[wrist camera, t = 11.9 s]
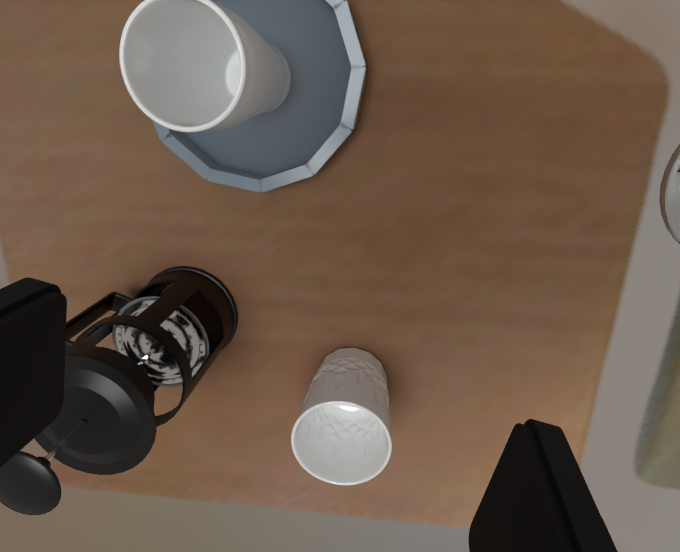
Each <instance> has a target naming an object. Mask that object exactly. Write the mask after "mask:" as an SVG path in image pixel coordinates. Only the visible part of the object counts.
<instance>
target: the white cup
mask: <svg viewBox="0 0 680 552" xmlns="http://www.w3.org/2000/svg"><path fill="white" fill-rule="evenodd" d="M291 444H292V449H293V452H294V455H295V457H296V459H297V460H298V462H299V463H300V465H301V466H302V467H303V468H304V469H305V470H306V471H307V472H309V473H310V474H311V475H313V476H314V477H316V478H318V479H320V480H322V481H325V482H328V483H331V484H336V485H355V484H359V483H363V482H366V481H368V480H370V479H372V478H374V477H375V476H377V475H378V474H379V473H380V472H381V471H382V470H383V469H384V468H385V466H386V465H387V463H388V461H389V459H390V455H391V450H392V442H391V422H390V406H389V395H388V389H387V376H386V373H385V371H384V368H383V366H382V363H381V362H380V361H379V360H378V359H376V358H375V357H374V356H373V355H372V354H371V353H370V352H367V351H364V350H361V349H358V348H342V349H338V350H336V351H334V352H332V353H331V354H329V355H327V356H326V357H325V358H324V360H323V361H322V363H321V364H320V366H319V367H318V370H317V372H316V375H315V376H314V378H313V380H312V383H311V385H310V388H309V390H308V392H307V394H306V396H305V399H304V402H303V404H302V407H301V409H300V412H299V415H298V417H297V420H296V422H295V425H294V427H293V430H292V435H291Z"/></svg>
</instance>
